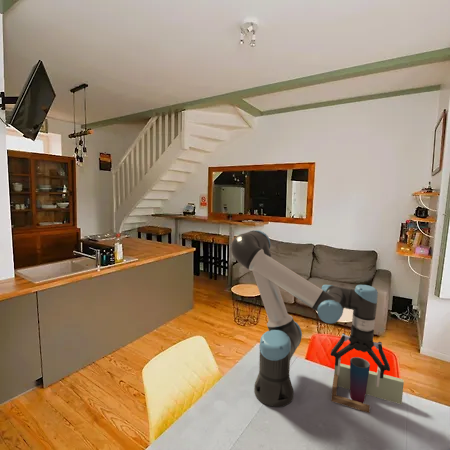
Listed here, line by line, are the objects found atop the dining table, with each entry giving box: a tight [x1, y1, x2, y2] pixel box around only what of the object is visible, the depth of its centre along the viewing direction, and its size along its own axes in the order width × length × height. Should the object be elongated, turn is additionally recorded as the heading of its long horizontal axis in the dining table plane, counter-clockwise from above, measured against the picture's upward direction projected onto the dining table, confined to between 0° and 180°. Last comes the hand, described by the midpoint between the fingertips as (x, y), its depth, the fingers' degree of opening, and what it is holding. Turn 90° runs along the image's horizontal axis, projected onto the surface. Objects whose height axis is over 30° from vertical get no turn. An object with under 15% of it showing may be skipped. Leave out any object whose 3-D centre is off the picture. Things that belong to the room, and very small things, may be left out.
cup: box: [349, 356, 371, 404], centre depth 108 cm, size 7×7×15 cm
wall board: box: [333, 362, 405, 405], centre depth 111 cm, size 24×2×9 cm, turn 64°
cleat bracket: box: [330, 373, 371, 414], centre depth 109 cm, size 13×10×5 cm
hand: (357, 378), depth 108 cm, fingers open, 13 cm apart
